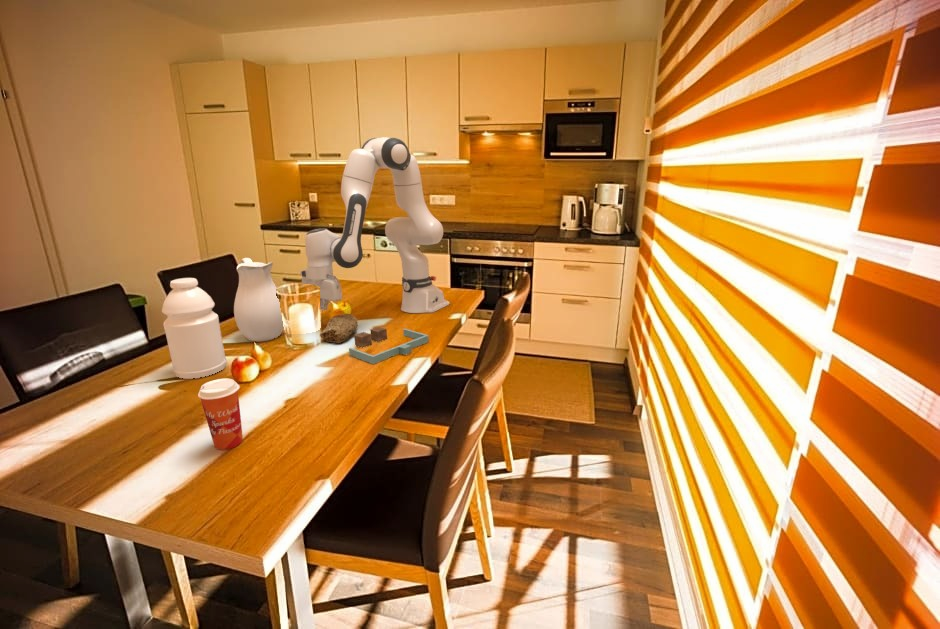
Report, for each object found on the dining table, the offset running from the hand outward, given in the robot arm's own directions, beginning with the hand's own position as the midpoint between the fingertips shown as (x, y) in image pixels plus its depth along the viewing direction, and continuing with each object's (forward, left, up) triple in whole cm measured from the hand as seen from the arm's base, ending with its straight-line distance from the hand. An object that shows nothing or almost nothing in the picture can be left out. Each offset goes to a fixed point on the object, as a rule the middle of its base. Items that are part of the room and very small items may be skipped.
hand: (323, 309), depth 173 cm
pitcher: (+18, -13, -8) cm, 24 cm away
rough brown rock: (+1, +11, -8) cm, 13 cm away
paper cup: (+59, +51, -8) cm, 78 cm away
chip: (+3, +26, -8) cm, 27 cm away
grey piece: (-1, +37, -8) cm, 38 cm away
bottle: (+46, +4, -8) cm, 47 cm away
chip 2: (-4, +26, -8) cm, 28 cm away
